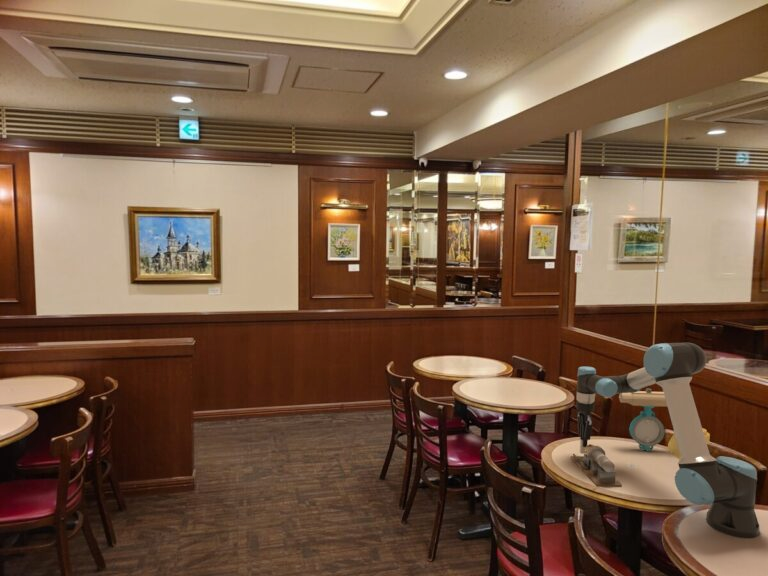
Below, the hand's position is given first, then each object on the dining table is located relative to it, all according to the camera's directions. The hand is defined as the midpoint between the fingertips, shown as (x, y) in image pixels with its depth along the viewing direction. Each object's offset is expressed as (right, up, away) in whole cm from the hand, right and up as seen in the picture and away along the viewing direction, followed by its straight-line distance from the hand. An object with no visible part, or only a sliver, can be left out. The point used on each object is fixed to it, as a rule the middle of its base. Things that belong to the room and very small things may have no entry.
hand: (583, 452), depth 234 cm
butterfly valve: (+34, -3, +13) cm, 37 cm away
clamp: (+49, -4, +3) cm, 50 cm away
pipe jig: (0, -4, -13) cm, 13 cm away
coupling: (0, -3, -10) cm, 10 cm away
